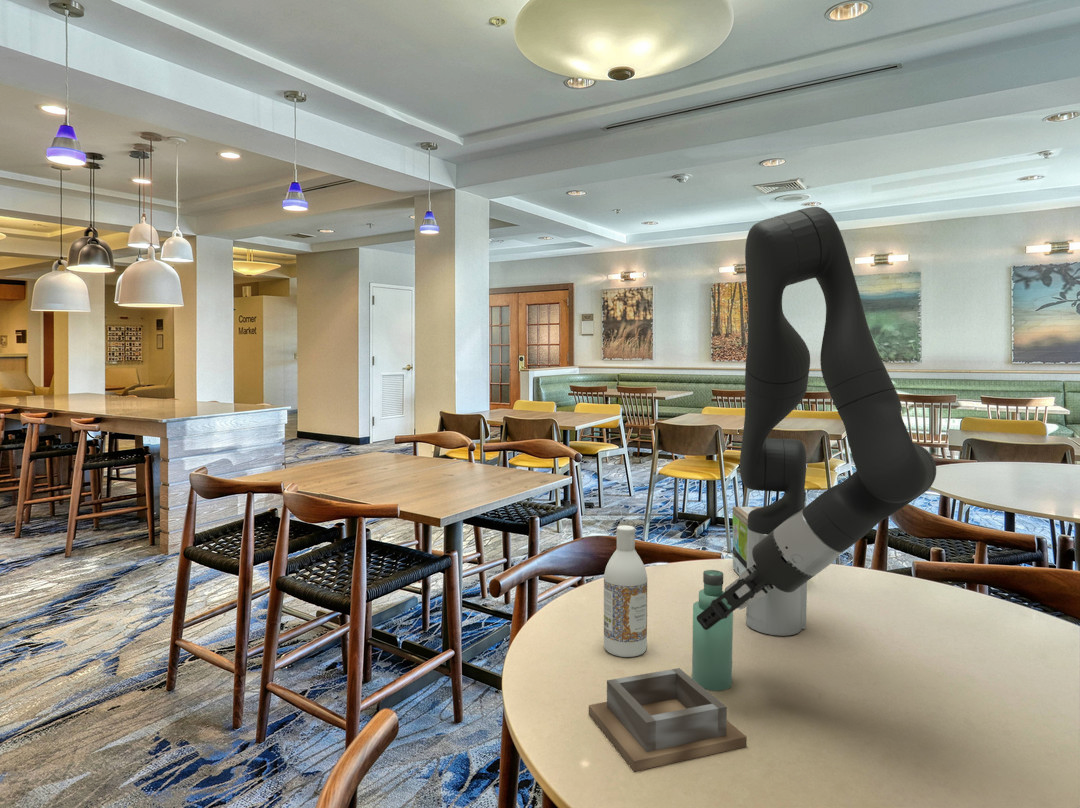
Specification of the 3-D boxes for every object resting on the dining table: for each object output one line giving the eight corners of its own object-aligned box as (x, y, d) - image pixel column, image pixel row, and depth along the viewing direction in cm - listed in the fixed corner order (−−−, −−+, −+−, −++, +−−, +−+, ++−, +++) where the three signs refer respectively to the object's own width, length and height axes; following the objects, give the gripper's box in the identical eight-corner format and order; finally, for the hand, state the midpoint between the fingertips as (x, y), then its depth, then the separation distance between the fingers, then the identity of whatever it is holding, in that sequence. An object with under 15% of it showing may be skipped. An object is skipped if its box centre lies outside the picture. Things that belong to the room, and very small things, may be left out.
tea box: (730, 569, 148) (731, 504, 147) (775, 569, 147) (776, 505, 147) (749, 591, 133) (751, 520, 132) (799, 592, 132) (800, 520, 132)
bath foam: (622, 662, 100) (623, 534, 99) (595, 646, 106) (595, 525, 105) (655, 651, 104) (656, 528, 103) (627, 636, 110) (627, 520, 109)
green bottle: (717, 669, 98) (718, 565, 97) (739, 687, 92) (741, 576, 92) (684, 675, 96) (685, 569, 95) (706, 693, 91) (707, 581, 90)
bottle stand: (688, 695, 90) (688, 662, 90) (746, 746, 78) (747, 708, 77) (588, 713, 85) (588, 678, 85) (634, 771, 73) (634, 730, 73)
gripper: (794, 517, 93) (716, 580, 101) (758, 537, 82) (674, 606, 89) (832, 561, 90) (749, 622, 98) (801, 587, 79) (710, 654, 86)
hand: (714, 614), depth 93 cm, fingers open, 8 cm apart
